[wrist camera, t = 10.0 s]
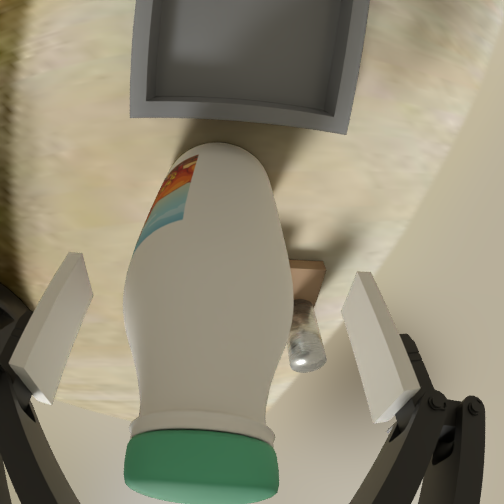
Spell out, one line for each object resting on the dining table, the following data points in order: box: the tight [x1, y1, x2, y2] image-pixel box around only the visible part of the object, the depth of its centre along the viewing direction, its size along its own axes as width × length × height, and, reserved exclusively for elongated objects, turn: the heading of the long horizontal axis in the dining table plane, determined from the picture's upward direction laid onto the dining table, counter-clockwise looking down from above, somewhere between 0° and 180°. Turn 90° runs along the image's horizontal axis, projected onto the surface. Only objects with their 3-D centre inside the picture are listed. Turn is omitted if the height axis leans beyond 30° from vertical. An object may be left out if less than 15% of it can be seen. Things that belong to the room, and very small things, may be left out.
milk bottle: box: [123, 143, 294, 504], centre depth 15 cm, size 8×8×20 cm
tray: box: [130, 0, 370, 135], centre depth 15 cm, size 13×13×3 cm
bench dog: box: [287, 299, 326, 373], centre depth 27 cm, size 3×3×6 cm
